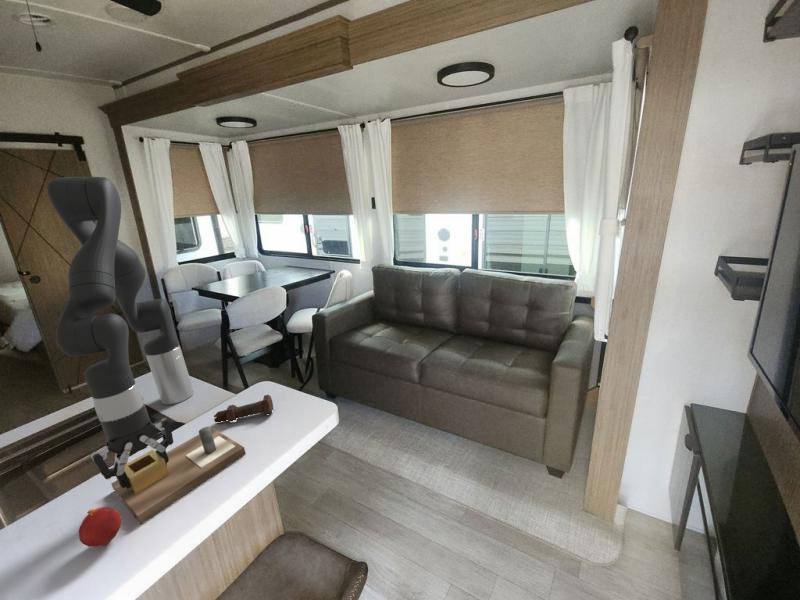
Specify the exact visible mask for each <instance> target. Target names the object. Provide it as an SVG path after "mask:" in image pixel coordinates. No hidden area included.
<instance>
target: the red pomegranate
mask: <svg viewBox="0 0 800 600" xmlns="http://www.w3.org/2000/svg"><path fill="white" fill-rule="evenodd" d="M121 527H122V516H121V514H120V512H119V511H118V510H117V509H114V508H112V507H108V506H103V507H97V508H95V507H93V508H90V509H89V510H88V511H87V515H86V516H85V517H84V518H83V520H82V522H81V524H80V526H79V528H78V538H79V542H81V544H82V545H84V546H86V547H100V546H107V545H108V544H109V543H110V542H112V541H113V539H114V538H115V537H116V536H117V534H118V533H119V531H120V529H121Z"/></svg>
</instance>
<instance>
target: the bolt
mask: <svg viewBox="0 0 800 600" xmlns="http://www.w3.org/2000/svg"><path fill="white" fill-rule="evenodd" d="M272 399H273V398H272V397H271V395H270V394H265V395H264V396H263V398H262V400H258V401H255V402H252V403H248V404H244V405H239V406H237V405H235V404H230V405H228V406H227V407H226V409H224V410H223V409H222V410H220V411H217V412H216V413H215V414H214V415H213V417H214V419H213V421H214V422H215V423H216V422H221V421H226V420H228V421H226V422H229V421H233V420H236V418H238V419H240V418H239V417H242V418H245V417H244V416H246V417H249V416H248V415H250V416H253V414H254V415H257V414H262V413H263V414H264V413H265V415H266V414H271V413H272V410H273V411H274V404H273V400H272ZM272 414H273V413H272Z"/></svg>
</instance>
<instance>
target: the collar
mask: <svg viewBox="0 0 800 600" xmlns="http://www.w3.org/2000/svg"><path fill="white" fill-rule="evenodd" d="M124 471H125V472H126V474H127V475H126V476H127V478H128V481H129V483H130V486H131V487H130V489H131V490H132V491H133V492H134V493H135V494H138V493H140V492H141V491H143V490H145V489H146V488H148V487H150V486H151V485H153V484H155V483H156V482H158V481H160V480H161V479H163V478H164V477H166V476H168V475H169V472H168V469H167V466H166V463H165V460H164V459H163V458H162V457H161V456H159V455H158V454H157V453H156V450H155V449H151V450H150V451H148V452H146V453H144V454H141V456H138V457H136V458H135V459H133V460H131V461H129V462H127V464H126V465H125V469H124Z"/></svg>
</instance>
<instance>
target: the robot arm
mask: <svg viewBox="0 0 800 600" xmlns="http://www.w3.org/2000/svg"><path fill="white" fill-rule="evenodd" d="M46 189H47V190H46V191H47V196H48V198H49V201H50V203H51V205H52V206H53V208H54V211H56V213H57V214H58V216H59V217H60V219H61V221H63V223H64V224H65V225H66V226H67V228H68V229H69V230H70V232H71V233H72V234H73V235H74V237H76V239H77V240H78V242H79V243H80V244H81V247H80V248H79V250H78V251H77V252H76V254H75V255H74V257H73V259H72V260H71V261H70V265H69V270H68V297H67V298H68V299H67V301H66V303H65V306H64V308H63V312H62V314H61V316H60V319H59V321H58V323H57V327H56V331H55V343H56V345H57V347H58V349H59V350H60V352H62V353H63V354H64V355H67V356H69V357H83V356H86V355H90V354H97V353H101V352H102V353H103V352H107V358H106V359H104V360H100V361H98V362H96V363H94V364H92V365H90V366H88V367H87V368H86V369H85V371H84V379H85V382H86V385H87V387H88V390H89V392H90V395H91V398H92V401H93V405H94V406H93V407H94V410H95V413H96V415H97V417H98V421H99V424H100V426H101V428H102V431H103V433H104V436H105V438H106V445H105V446H103V447H102V448H100V449H99V450H93V451H91V452H90V454H89V457H90V458H91V459H92V460H91V461H92V462H93V463H94V464H95V466H96V468H97V469H98V471H99V473H100V474H101V475H102V477H104V479H105V480H110V479H111V478H112V477H113V478H114V477H115V478H116V479H117V480H118V483H119V485H120V486H121V487H122V488H125V487H126V488H127V489H128V488H130V487H131V486H130V483H129V481H128V478H127V476H126V475H127V474H126V472H125V471H124V469H125V465H126V464H127V463H129V462H128V461H129V457H131V456H133V455H135V454H136V453H138V452H139V451H143V450H145V449H147V448H148V446H149V447H151V448H152V449H153V450H155V452H156V453H157V454H158V455H159V456H161V457H162V458H163V459H164V460H165V463H166V466H167V462H168V461H169V459H168V456H167V451H166V450H167V448H168V447H169V446H171V445H172V444H174V437H173V431H172V426H171V422H170V420H169V419H167V418H166V417H164V416H163V417H161V418H160V419H159V420H158V421H155V422H152V421H151V418H150V415H149V413H148V409H147V408H146V404H145V400H144V397H143V395H142V393H141V391H140V389H139V387H138V385H137V383H136V381H135V377H134V375H133V371H132V370H131V366H130V358H129V357H130V356H129V340H130V339H129V337H130V335H129V334H130V332H129V331H130V330H129V327H130V328H131V330H132V331H134V332H135V333H138V334H139V333H140V334H141V333H143V334H144V333H148V332H153V331H156V330H162V332H161V333H160V334H159V335H157V336H155V338H153V339H151V340H149V341H148V342H146V343H145V344H144V345H143V350H144V354H145V357H146V360H147V362H148V366H149V369H150V372H151V375H152V378H153V381H154V384H155V386H156V390H157V392H158V396H159V399H160V403H161V404H163V405H165V406H166V405H167V406H168V405H176V404H178V403H181V402H183V401H185V400H186V401H187V400H188V399H189V398H190V397H192V396H193V395H194V393H195V391H194V388H193V385H192V382H191V378H190V374H189V371H188V368H187V365H186V361H185V359H184V355H183V350H182V348H181V345H180V342H179V339H178V336H177V333H176V327H175V324H174V321H173V317H172V311H171V308H170V304H169V303H168V301H167V300H166V299H164V298H156V299H151V300H146V301H141V302H136V299H137V295H138V294H139V292H140V290H141V289H142V286H143V285H144V282H145V280H146V269H145V267H144V266H143V263H142V261H141V260H140V257H139V256H138V253H137V252H136V251H135V250H134V249H133V248H132V247H130V246H129V245H128V244H126V243H125V242H122V241H121V240H120V239H119V232H120V227H121V226H120V225H121V217H122V201H121V197H120V194H119V191H118V189H117V187H116V185H115V184H114V183H113V181H112V180H111V179H110V178H107V177H104V176H65V177H64V176H63V177H61V176H60V177H55V178H52V179H50V180H49V181H48V182H47V184H46ZM94 221H97V222H96V223H95V222H94ZM116 301H117V304H118V305H119V308H120V309H121V311H122V313H123V315H124V317H125V319H126V320H125V319H124V318H123V317H122V316H121V315H118V314H116V313H106V314H105V313H103V314H100V315H94V314H95V313H96V312H99V311H102V310H105V309H107V308H109V307H111V306H112V305H114V303H115V302H116ZM128 325H129V326H128ZM156 429H158V430H159V431H161V437H162V440H161V441H160V442H158V441H156V439H154V438H153V436H154V433H155V430H156ZM109 452H110V453H114V454H115V457H114V464H113V467H111V468H109V466H108V465H107V463H106V462H105V460H107V458H108V453H109ZM117 480H116V481H117Z"/></svg>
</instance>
